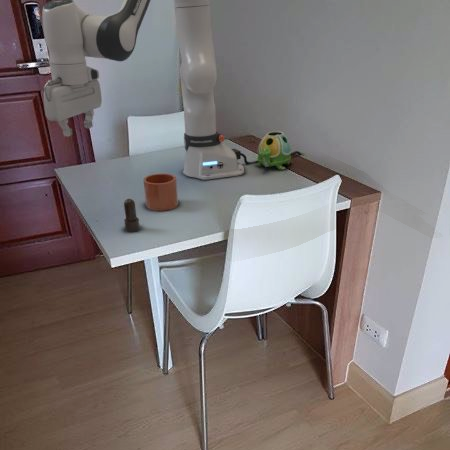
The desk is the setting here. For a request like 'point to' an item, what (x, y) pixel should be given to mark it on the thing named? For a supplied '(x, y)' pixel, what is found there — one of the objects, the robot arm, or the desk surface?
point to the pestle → (131, 216)
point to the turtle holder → (274, 150)
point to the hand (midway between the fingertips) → (78, 131)
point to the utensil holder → (160, 192)
